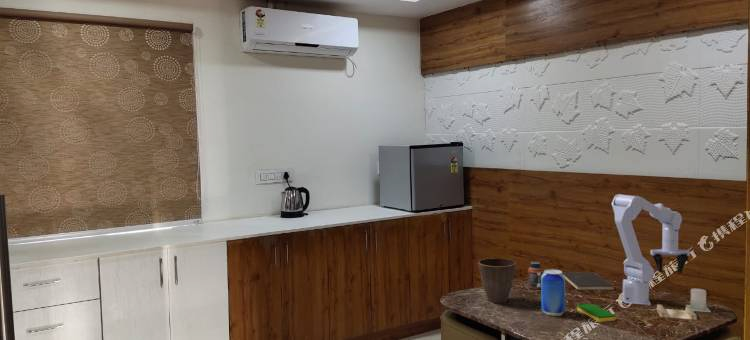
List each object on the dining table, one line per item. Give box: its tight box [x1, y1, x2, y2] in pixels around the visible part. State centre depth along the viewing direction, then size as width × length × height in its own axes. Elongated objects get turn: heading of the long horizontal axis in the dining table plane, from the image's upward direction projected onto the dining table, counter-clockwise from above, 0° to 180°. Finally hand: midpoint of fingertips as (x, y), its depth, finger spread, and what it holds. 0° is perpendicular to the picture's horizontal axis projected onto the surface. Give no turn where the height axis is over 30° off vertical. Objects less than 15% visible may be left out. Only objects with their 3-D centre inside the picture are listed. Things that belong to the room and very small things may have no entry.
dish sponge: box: [576, 303, 616, 323], centre depth 198 cm, size 7×14×2 cm, turn 11°
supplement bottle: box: [527, 261, 543, 290], centre depth 234 cm, size 6×6×11 cm
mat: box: [685, 304, 712, 313], centre depth 201 cm, size 7×7×1 cm
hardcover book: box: [562, 271, 615, 291], centre depth 241 cm, size 16×23×2 cm
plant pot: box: [478, 257, 517, 304], centre depth 217 cm, size 15×15×16 cm
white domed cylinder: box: [690, 288, 707, 312], centre depth 202 cm, size 5×6×7 cm
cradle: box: [655, 303, 699, 321], centre depth 196 cm, size 12×10×2 cm
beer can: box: [540, 268, 566, 317], centre depth 201 cm, size 8×8×16 cm
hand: (669, 272), depth 218 cm, fingers open, 7 cm apart
